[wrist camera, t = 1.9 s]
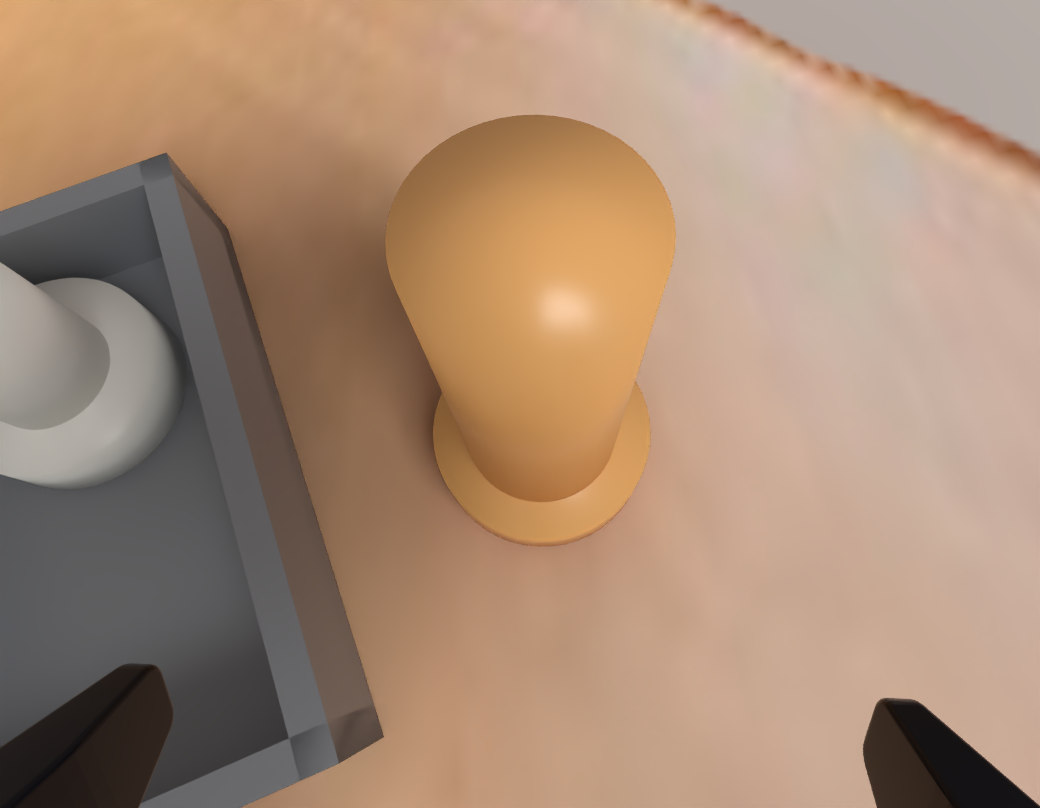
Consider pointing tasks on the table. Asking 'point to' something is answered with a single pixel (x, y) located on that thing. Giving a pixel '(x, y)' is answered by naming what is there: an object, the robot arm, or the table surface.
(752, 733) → the table surface
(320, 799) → the table surface
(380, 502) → the table surface
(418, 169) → the mushroom shaped handle
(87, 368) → the grey storage tray
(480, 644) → the table surface
